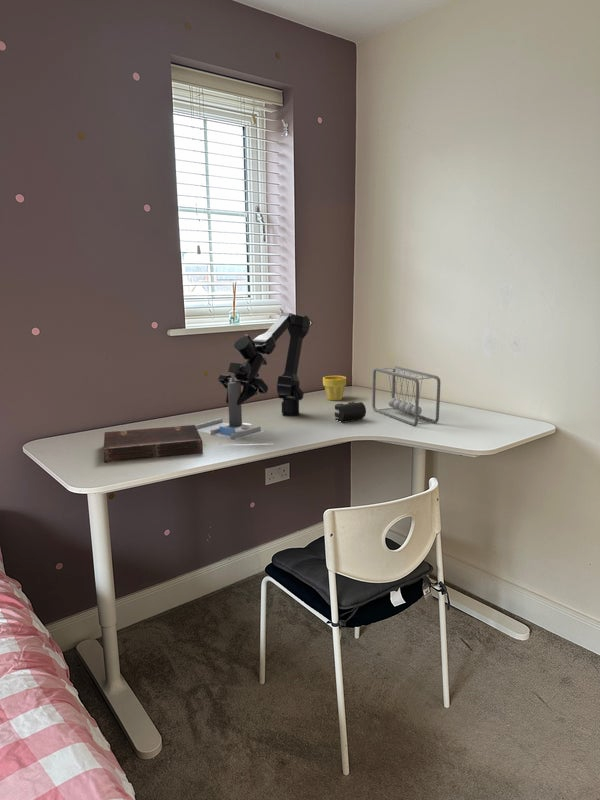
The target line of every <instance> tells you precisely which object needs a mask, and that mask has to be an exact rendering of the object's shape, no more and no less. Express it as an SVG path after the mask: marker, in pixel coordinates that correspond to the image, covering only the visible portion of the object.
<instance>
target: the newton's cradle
mask: <svg viewBox="0 0 600 800" xmlns="http://www.w3.org/2000/svg"><path fill="white" fill-rule="evenodd" d="M391 369H392V370H391ZM372 371H373V372H372V401H371V402H372V403H371V404H372V405H371V406H372V410H373V412H375V411H376V412H375V413H378V412H379V413H378V414H381V415H383V414H384V416H385V417H388V416H389V418H391V419H394V420H397V421H399V422H402V423H405V424H408V425H409V426H413V427H415V426H418V425H422V424H429V423H430V424H431V423H432V424H437V423H438V422H439V420H440V401H441V400H440V399H441V379H440V377H439V376H438V375H434V374H429V373H428V372H427V373H426V372H422V371H418V370H413V369H409V368H405V367H401V366H394V367H385V368H383V367H382V368H378V367H376V368H374V369H373V370H372ZM377 372H379V373H383V374H386V375H387V374H388V378H389V380H391V381H392V382H389V385H390V386H389V387H391V390H390V392H391V393H390V394H391V397H390V398H389V400H388V401H387V404H388V406H389V407H388V408H380V409H379V408H378V409H377V408H376V407H377V406H376V382H377V379H376V377H377V376H376V375H377V374H376V373H377ZM406 373H407V374H406ZM390 375H391V376H392V377H391V378H392V379H390ZM414 375H415V376H414ZM418 376H420V378H418ZM396 377H397V378H396ZM398 379H400V382H401V384H400V387H401V389H400V390H403V383H404V381H402V380H404V379H405V382H406V384H407V385H410V381H412V385H413V386H412V392H415V393H412V395H411V397H413V395H414V398H415V400H414V404H415V405H414V404H413V403H412V400H413V398H411V400H410V398H409V397H410V396H409V394H408V392H409V390H408V388H409V386H406V388H407V389H406V394H405V396H407V397H405V398H404V399H402V400H401V399H400V398H401V397H399V398H398V395H395V394H396V393H398V390H397V387H396V386H397V383H398V381H397V380H398ZM427 379H428V380H430V379H435V380H436V382H437V383H436V405H435V419H433V418H430V417H426V416H424V415H421V414H422V412H423V410H422V408H421V406H420V405H419V403H420V402H419V401H420V396H421V394H420V393H421V392H420V391H421V388H422V386H420V385H422V383H423V380H427ZM419 380H421V383H420V381H419ZM391 383H392V385H391ZM401 395H402V397H404V392H402V391H400V393H399V396H401ZM395 396H396V397H397V398H395ZM407 398H408V400H410V402H407V401H406V399H407ZM393 409H394V410H396V409H397V410H396V411H399V412H401V411H402V413H404V412H405V414H407V413H408V414H407V415H410V414H411V416H413V417H414V422H413V421H410V420H408V419H404V418H401V417H399V416H396V415H394V414H392V413H391V414H390V413H388V412H386V410H393ZM384 410H385V411H384ZM418 417H419V418H418ZM419 419H422V420H423V421H424V420H425V421H424V422H419Z"/></svg>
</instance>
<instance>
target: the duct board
mask: <svg viewBox="0 0 600 800" xmlns="http://www.w3.org/2000/svg"><path fill="white" fill-rule="evenodd" d="M194 425H195V427H196V429H197V431H198V432H200V433H204V434H210V435H213V436H216V437H217V436H218V437H222V438H227V439H231V440H235V441H238V440H241V439H244V438H248V437H251V436H254V435H257V434H261V433H263V432H265V430H262V428H261V427H262V426H261V425H257V426H253V428H250V429H245V428H241V426H240V427H230V426H229V422H224V420H223V418H222V417H220V418H216V419H213V420H209V421H206V422H202V423H198V424H197V423H196V424H194Z"/></svg>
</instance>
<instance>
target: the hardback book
mask: <svg viewBox="0 0 600 800" xmlns="http://www.w3.org/2000/svg"><path fill="white" fill-rule="evenodd" d="M195 425H196V424H190V425H189V424H187V425H177V426H164V427H153V428H152V427H151V428H142V429H141V428H139V429H126V430H117V431H115V430H114V431H113V430H112V431H104V435H103V437H104V438H103V459H104V464H105V463H113V462H114V463H117V462H125V461H127V462H128V461H137V460H147V459H156V458H157V459H159V458H168V457H177V456H187V455H201V454H204V446H203V443H204V442H203V439H202V437H201V435H200V433H199V431H197V429H196V427H195Z"/></svg>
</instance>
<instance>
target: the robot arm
mask: <svg viewBox="0 0 600 800" xmlns="http://www.w3.org/2000/svg"><path fill="white" fill-rule="evenodd" d="M310 327H311V320H310V318H309V317H308V316H307V315H297V314H294V313H292V312H282V313H281V314H280V315H279V317H278V318H277V320H275V322H273V324H272V325H271V326H270V327H269V329H267V330H266V332H264V333H262V334H260V335H257V336H256V337H254V339H253V340H252V339H251V338H252V337H251V336H250V335H249V334H244V335H243V336H241V337H240V338H238V339H237V340H236V341H235V342H234V344H233V347H234V349H235V350H236V352H238V354H239V355H240V357H241V358H242V359H243V360H245V361H244V362H243V363H239V362H229V366H228V369H227V370H228V371H227V372H228V373H231V374H233V377H234V378H235V379H234V378H233V377H232V376H231V375H230V374H219V377H218V379H217V381H218V382H219V384H220V385H221V386H222V387H223V388H224V389H226V390H227V391H226V398H225V403H226V404H227V405H229V404H228V383H229V382H240V383H241V387H242V390H241V395H240V397H239V399H238V401H237V405H240V404H241V405H242V404H243V403H244V402H246V401H248V400H249V399H251V398H252V397H254V396H255V395H258V393H259V394H263V395H267V393H268V391H269V387H268V385H267V384H266V382H265V381H264V380H263V378H260V377H259V376H260V374H259V371H260V370H261V367H262V365H263V366H267V365H268V362H267V359H266V357H264V356H263V355H266V356H267V355H268V356H270V355H271V354H272V353H273V352H274V350H275V348H276V346H277V341H278V339H280V337H281V336H282V335H283V334H284V333H285V331H286V330H287V332H288V335H289V341H288V342H289V343H288V349H287V355H286V360H285V365H284V366H285V367H284V372H283V374H282V375H278V377H277V383H276V392H277V395H278V396H277V397H278V399H281V400H282V401H281V413H282V416H300V401H302V400H303V399H304V392H303V390H302V389H301V387H300V380H299V377H298V369H299V362H300V357H301V351H302V345H303V340H304V338H305V337H306V336H307V334H308V333H309V329H310Z"/></svg>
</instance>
